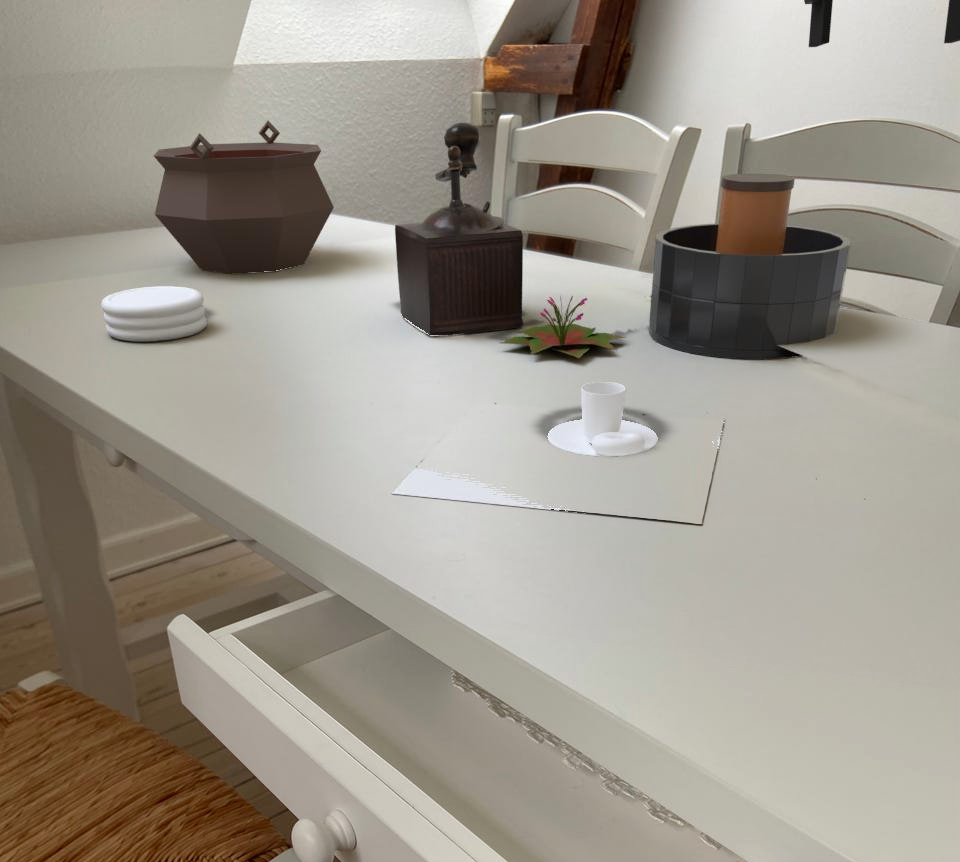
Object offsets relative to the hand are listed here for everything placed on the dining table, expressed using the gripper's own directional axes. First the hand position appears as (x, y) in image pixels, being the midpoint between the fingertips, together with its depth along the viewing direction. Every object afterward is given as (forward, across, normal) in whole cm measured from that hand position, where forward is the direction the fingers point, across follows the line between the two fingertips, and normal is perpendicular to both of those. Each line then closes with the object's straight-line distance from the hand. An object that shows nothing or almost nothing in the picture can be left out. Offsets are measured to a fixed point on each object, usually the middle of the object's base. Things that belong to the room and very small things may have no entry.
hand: (887, 43), depth 94 cm
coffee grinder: (+23, +41, -9) cm, 48 cm away
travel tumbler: (+24, +14, +4) cm, 28 cm away
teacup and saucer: (+29, +38, +33) cm, 58 cm away
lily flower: (+25, +32, +5) cm, 41 cm away
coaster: (+23, +72, -9) cm, 76 cm away
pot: (+25, +14, +3) cm, 29 cm away
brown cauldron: (+18, +64, -44) cm, 80 cm away
